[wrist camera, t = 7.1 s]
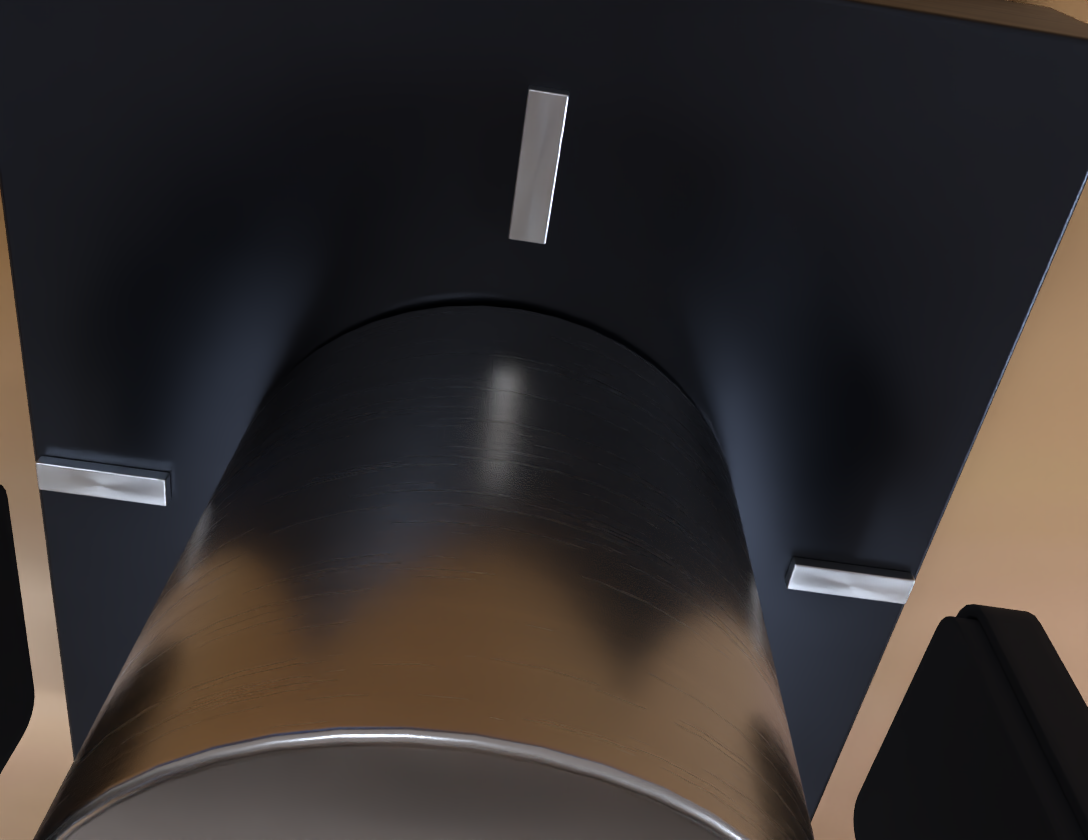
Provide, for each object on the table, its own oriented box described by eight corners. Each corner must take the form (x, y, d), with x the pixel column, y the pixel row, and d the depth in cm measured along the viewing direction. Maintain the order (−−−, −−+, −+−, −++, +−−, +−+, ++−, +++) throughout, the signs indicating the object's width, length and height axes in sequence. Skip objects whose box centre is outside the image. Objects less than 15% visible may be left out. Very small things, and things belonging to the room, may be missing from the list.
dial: (231, 675, 13) (16, 1228, 8) (234, 259, 10) (-101, 715, 5) (672, 735, 13) (732, 1300, 8) (798, 348, 10) (1004, 859, 5)
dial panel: (59, -157, 10) (-57, -148, 8) (1054, 6, 11) (1155, 52, 9) (132, 711, 16) (75, 830, 14) (757, 788, 17) (781, 912, 15)
